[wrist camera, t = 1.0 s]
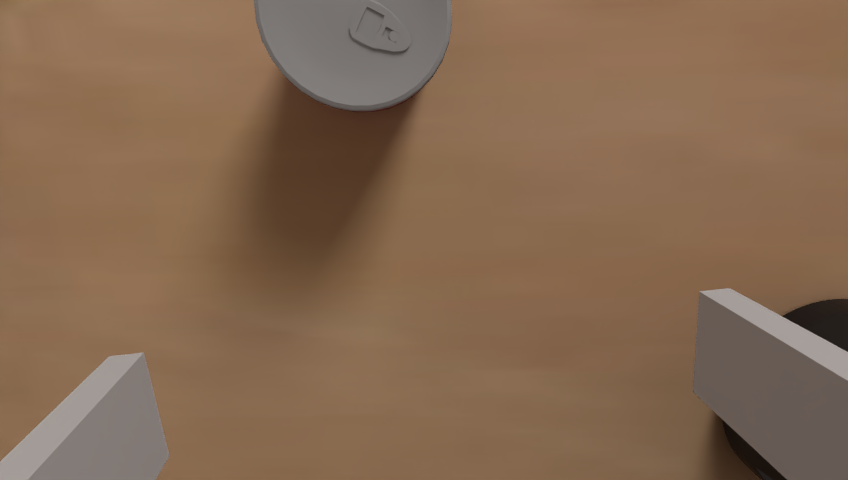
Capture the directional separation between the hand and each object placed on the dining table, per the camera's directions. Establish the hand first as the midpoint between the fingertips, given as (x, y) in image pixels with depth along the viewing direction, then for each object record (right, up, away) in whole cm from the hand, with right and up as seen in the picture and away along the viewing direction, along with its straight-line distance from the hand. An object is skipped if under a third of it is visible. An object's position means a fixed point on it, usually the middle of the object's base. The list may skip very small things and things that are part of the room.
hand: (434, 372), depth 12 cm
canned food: (-4, +15, +19) cm, 24 cm away
